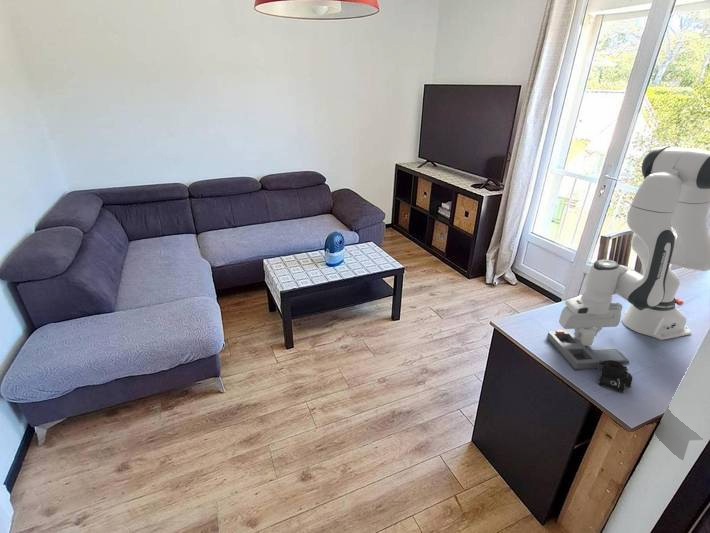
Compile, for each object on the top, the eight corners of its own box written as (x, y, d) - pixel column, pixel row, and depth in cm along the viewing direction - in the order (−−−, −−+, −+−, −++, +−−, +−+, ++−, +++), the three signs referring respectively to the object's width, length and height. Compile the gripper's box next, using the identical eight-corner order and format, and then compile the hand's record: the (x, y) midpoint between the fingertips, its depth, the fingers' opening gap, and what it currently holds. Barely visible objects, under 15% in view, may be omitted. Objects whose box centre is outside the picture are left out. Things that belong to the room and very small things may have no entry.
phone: (615, 351, 132) (616, 348, 131) (628, 363, 126) (629, 360, 126) (580, 352, 131) (581, 350, 131) (592, 364, 126) (592, 362, 125)
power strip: (567, 337, 140) (569, 329, 138) (597, 369, 124) (600, 360, 122) (546, 338, 139) (548, 330, 138) (574, 370, 123) (577, 361, 122)
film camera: (604, 348, 125) (639, 356, 117) (605, 367, 127) (640, 376, 119) (588, 367, 118) (625, 377, 110) (589, 387, 120) (625, 398, 112)
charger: (585, 338, 138) (589, 323, 135) (591, 345, 134) (596, 330, 131) (574, 338, 138) (578, 324, 135) (580, 345, 134) (584, 330, 131)
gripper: (617, 298, 131) (607, 329, 138) (561, 300, 131) (553, 331, 137) (629, 307, 126) (618, 339, 132) (571, 310, 126) (562, 342, 132)
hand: (584, 335), depth 135 cm, fingers closed on charger, 4 cm apart
